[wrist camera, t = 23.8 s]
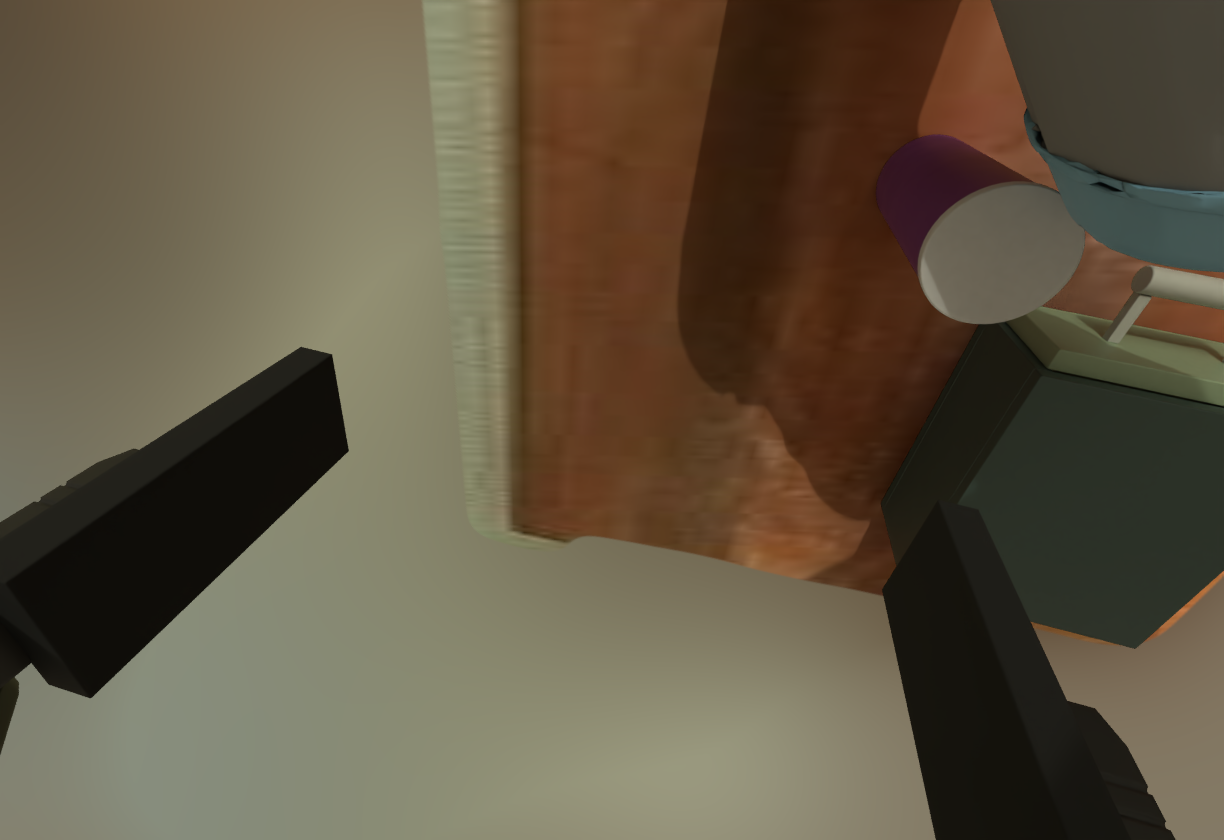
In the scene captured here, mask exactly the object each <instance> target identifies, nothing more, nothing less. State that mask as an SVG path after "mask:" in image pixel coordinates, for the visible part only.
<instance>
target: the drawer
mask: <svg viewBox="0 0 1224 840" xmlns="http://www.w3.org/2000/svg"><path fill="white" fill-rule="evenodd" d="M1131 288H1132V290H1133V291H1134V292H1133V294H1132V295H1131V296H1130V298H1129V299H1128V301H1127V302H1126V304H1125V305H1124V307H1123V308H1122V309H1121V311H1120V312H1119V314H1118V315H1117V317H1116V318H1115V319H1114V321H1111V320H1106V319H1101V318H1096V317H1091V316H1086V315H1081V314H1077V313H1072V312H1067V311H1062V310H1057V309H1052V308H1047V307H1042V306H1040V307H1038V308H1037V309H1035V310H1034V311H1031V312H1029V313H1027V314H1025V315H1023V316H1020V317H1018V318H1015V319H1012V320H1008V321H1005V322H1006V323H1007V324H1008V325H1009V326H1010V327H1011V328H1012V330H1013V331H1014V332H1015V333H1016V334H1017V335H1018V336H1019V338H1020V339H1021V340H1022V341H1023V342H1024V343H1025V344H1026V345H1027V347H1028V348H1029V349H1030V350H1031V351H1032V352H1033V353H1034V355H1035V356H1036V357H1037V358H1038V359H1039V360H1040V361H1041V363H1042V364H1043V365H1044V366H1045V367H1046V368H1047V369H1050V370H1052V372H1056V373H1061V374H1066V375H1070V376H1075V377H1080V378H1084V379H1089V380H1094V381H1098V382H1103V383H1108V384H1113V385H1117V386H1122V387H1127V388H1131V389H1136V390H1141V391H1145V392H1150V393H1155V394H1160V395H1164V396H1169V397H1174V398H1178V399H1183V400H1188V401H1192V402H1197V403H1202V404H1206V405H1211V406H1216V407H1221V408H1224V343H1221V342H1216V341H1211V340H1206V339H1201V338H1196V337H1191V336H1186V335H1181V334H1176V333H1171V332H1166V331H1161V330H1156V329H1151V328H1146V327H1141V326H1136V325H1132V324H1133V323H1134V322H1135V320H1136V319H1137V317H1138V316H1139V315H1140V313H1141V312H1142V310H1143V309H1144V308H1145V306H1146V305H1147V304H1148V302H1149V301H1150V299H1151V298H1152V297H1151V296H1155V297H1160V298H1165V299H1170V300H1175V301H1180V302H1185V303H1191V304H1196V305H1201V306H1206V307H1211V308H1216V309H1221V310H1224V279H1220V278H1215V277H1209V276H1204V275H1199V274H1193V273H1188V272H1183V271H1178V270H1172V269H1167V268H1162V267H1157V266H1151V265H1149V266H1145V267H1143V268H1141V269H1140V270H1139V271H1138V272H1137V273H1136V275H1135V276H1134V278H1133V280H1132V284H1131ZM1149 295H1150V296H1149Z"/></svg>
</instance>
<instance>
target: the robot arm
mask: <svg viewBox="0 0 1224 840" xmlns="http://www.w3.org/2000/svg"><path fill="white" fill-rule="evenodd" d="M991 3H992V5H993V8H994V11H995V14H996V17H997V20H998V23H999V26H1000V29H1001V32H1002V35H1003V38H1004V41H1005V43H1006V46H1007V49H1008V52H1009V55H1010V58H1011V61H1012V64H1013V67H1014V70H1015V73H1016V76H1017V79H1018V82H1019V84H1020V87H1021V90H1022V93H1023V96H1024V99H1025V102H1026V105H1027V109H1026V112H1025V114H1024V123H1025V127H1026V131H1027V135H1028V137H1029V140H1030V143H1031V144H1032V146H1033V147H1034V149H1035V150H1036V151H1037V152H1039V154H1040V155H1041V156H1042V158H1043V159H1044V160H1045V162H1046V163H1048V165H1049V168H1050V170H1051V173H1052V175H1053V178H1054V180H1055V183H1056V185H1057V187H1058V190H1059V192H1060V195H1061V197H1062V200H1063V202H1064V204H1065V206H1066V209H1067V211H1068V212H1069V214H1070V216H1071V217H1072V218H1073V220H1074V221H1075V222H1076V223H1077V224H1078V225H1079V226H1081V227H1083V228H1084V229H1085V230H1086V231H1087V232H1088V233H1089V234H1090V235H1091V236H1092V237H1093V238H1095V239H1096V240H1097V241H1098V242H1100V243H1102V244H1104V245H1106V246H1107V247H1108V248H1110V249H1112V250H1115V251H1118V252H1120V253H1123V254H1126V255H1129V256H1131V257H1134V258H1137V259H1140V260H1143V261H1147V262H1151V263H1155V264H1160V265H1165V266H1171V267H1177V268H1183V269H1191V270H1200V271H1213V272H1224V0H991ZM348 451H349V449H348V444H347V438H346V433H345V427H344V421H343V415H342V410H341V403H340V398H339V392H338V386H337V380H336V374H335V369H334V363H333V358H332V354H328V353H324V352H320V351H316V350H312V349H308V348H303V347H300V348H299V349H297V350H295V351H294V352H292V353H291V354H289V355H288V356H286V357H284V358H283V359H281V360H280V361H278V362H277V363H275V364H273V365H272V366H270V367H269V368H267V369H266V370H264V371H263V372H261V373H260V374H258V375H256V376H255V377H253V378H251V379H250V380H248V381H247V382H245V383H244V384H242V385H240V386H239V387H237V388H236V389H234V390H233V391H231V392H230V393H228V394H227V395H225V396H223V397H222V398H220V399H219V400H217V401H216V402H214V403H212V404H211V405H209V406H208V407H206V408H205V409H203V410H202V411H200V412H198V413H197V414H195V415H193V416H192V417H191V418H189V419H187V420H186V421H184V422H182V423H181V424H180V425H178V426H176V427H175V428H173V429H171V430H170V431H168V432H167V433H165V434H164V435H162V436H160V437H159V438H157V439H156V440H154V441H153V442H151V443H150V444H148V445H146V446H145V447H144V448H142V449H140V450H137V449H132V450H129V451H126V452H124V453H121V454H119V455H116V456H113V457H111V458H108V459H105V460H103V461H100V462H98V463H96V464H94V465H93V466H91V467H89V468H88V469H86V470H85V471H83V472H81V473H80V474H78V475H76V476H75V477H73V478H72V479H70V480H68V481H67V483H66V485H65V486H59V487H57V488H55V489H54V490H52V491H50V492H49V493H47V494H46V495H44V496H42V497H41V500H40V501H39V502H33V503H31V504H29V505H28V506H26V507H24V508H23V509H21V510H20V511H18V512H16V513H15V514H13V515H11V516H10V517H8V518H7V519H5V520H3V521H2V522H0V754H1V750H2V747H3V744H4V741H5V738H6V734H7V731H8V728H9V724H10V721H11V718H12V715H13V711H14V708H15V705H16V702H17V698H18V695H19V682H18V681H17V680H16V679H15V676H16V675H17V674H18V673H20V672H21V671H22V670H23V669H24V668H25V667H27V666H28V665H29V664H30V663H32V664H33V665H34V667H35V668H36V669H37V670H38V672H39V673H40V674H41V675H42V677H43V678H44V679H45V680H46V682H47V683H48V684H49V685H52V686H55V687H58V688H61V689H64V690H67V691H70V692H73V693H76V694H79V695H82V696H85V697H88V698H92V697H93V696H94V695H95V694H96V693H97V692H98V691H99V690H100V689H101V688H102V687H103V686H104V685H105V684H106V683H107V682H108V681H109V680H111V679H112V678H113V677H114V676H115V674H117V673H118V672H119V671H120V670H121V669H122V668H123V667H124V666H125V665H126V664H127V663H128V662H129V661H130V660H131V659H132V658H133V657H135V656H136V654H138V653H139V652H140V651H141V650H142V649H143V648H144V647H145V646H146V645H147V644H148V643H149V642H150V641H151V640H152V639H153V638H154V637H155V636H156V635H157V634H158V633H160V632H161V631H162V630H163V629H164V628H165V627H166V626H167V625H168V624H169V623H170V622H171V621H172V620H173V619H174V618H175V617H176V616H177V615H178V614H179V613H180V612H181V611H182V610H184V609H185V608H186V607H187V606H188V605H189V604H190V603H191V602H192V601H193V600H194V599H195V598H196V597H197V596H198V595H199V594H200V593H201V592H202V591H203V590H204V589H205V588H206V587H207V586H208V585H210V584H211V583H212V582H213V581H214V580H215V579H216V578H217V577H218V576H219V575H220V574H221V573H222V572H223V571H224V570H225V569H226V568H227V567H228V566H229V565H230V564H231V563H233V562H234V560H236V559H237V558H238V557H239V556H240V555H241V554H242V553H243V552H244V551H245V550H246V549H247V548H248V547H249V546H250V545H251V544H252V543H253V542H254V541H255V540H256V539H257V538H259V537H260V536H261V535H262V534H263V533H264V532H265V531H266V530H267V529H268V528H269V527H270V526H271V525H272V524H273V523H274V522H275V521H276V520H277V519H278V518H279V517H280V516H281V515H282V514H284V513H285V512H286V511H287V510H288V509H289V508H290V507H291V506H292V505H293V504H294V503H295V502H296V501H297V500H298V499H299V498H300V497H301V496H302V495H303V494H304V493H305V492H306V491H307V490H309V488H311V487H312V486H313V485H314V484H315V483H316V482H317V481H318V480H319V479H320V478H321V477H322V476H323V475H324V474H325V473H326V472H327V471H328V470H329V469H330V468H331V467H333V466H334V465H335V464H336V463H337V462H338V461H339V460H340V459H341V458H342V457H343V456H344V455H345V454H346V453H347V452H348ZM882 591H883V596H884V601H885V605H886V610H887V614H888V619H889V624H890V628H891V633H892V638H893V642H894V647H895V652H896V656H897V661H898V665H899V670H900V675H901V679H902V684H903V689H904V693H905V698H906V703H907V707H908V712H909V717H910V721H911V726H912V731H913V735H914V740H915V745H916V749H917V753H918V758H919V763H920V768H921V773H922V777H923V782H924V786H925V791H926V795H927V801H928V805H929V809H930V814H931V819H932V823H933V828H934V833H935V838H936V840H1175V838H1174V836H1173V834H1172V832H1171V831H1170V830H1168V829H1166V827H1165V822H1166V821H1165V819H1164V817H1163V815H1162V813H1161V811H1160V809H1159V807H1158V805H1157V803H1156V801H1155V799H1154V797H1153V796H1152V795H1150V794H1148V792H1147V788H1148V786H1147V784H1146V782H1145V780H1144V778H1143V776H1142V774H1141V772H1140V770H1139V768H1138V767H1137V765H1136V763H1135V761H1134V759H1133V757H1132V755H1131V753H1130V751H1129V749H1128V747H1127V746H1126V745H1125V743H1124V742H1123V741H1122V740H1121V739H1120V738H1119V736H1118V735H1117V734H1116V733H1115V732H1114V730H1113V729H1112V728H1111V727H1110V726H1109V725H1108V723H1107V722H1106V721H1105V720H1104V719H1103V717H1102V716H1101V715H1100V714H1099V713H1098V712H1097V710H1096V709H1095V708H1091V707H1088V706H1084V705H1080V704H1077V703H1073V702H1070V701H1067V700H1066V698H1065V695H1064V693H1063V691H1062V689H1061V687H1060V685H1059V682H1058V680H1057V678H1056V676H1055V674H1054V672H1053V670H1052V667H1051V665H1050V663H1049V661H1048V659H1047V657H1046V654H1045V652H1044V650H1043V648H1042V646H1041V644H1040V641H1039V639H1038V637H1037V635H1036V633H1035V631H1034V628H1033V626H1032V624H1031V622H1030V620H1029V618H1028V615H1027V613H1026V611H1025V609H1024V607H1023V605H1022V602H1021V600H1020V598H1019V596H1018V594H1017V592H1016V589H1015V587H1014V585H1013V583H1012V581H1011V579H1010V577H1009V574H1008V572H1007V570H1006V568H1005V566H1004V564H1003V561H1002V559H1001V557H1000V555H999V553H998V551H997V548H996V546H995V544H994V542H993V540H992V538H991V535H990V533H989V531H988V529H987V527H986V525H985V522H984V520H983V518H982V516H981V514H980V512H979V509H975V508H971V507H966V506H962V505H958V504H954V503H950V502H945V501H941V500H938V501H937V502H936V504H935V506H934V507H933V509H932V510H931V512H930V514H929V515H928V517H927V518H926V520H925V522H924V523H923V525H922V526H921V528H920V530H919V531H918V533H917V534H916V536H915V538H914V539H913V541H912V542H911V544H910V546H909V547H908V549H907V551H906V552H905V554H904V555H903V557H902V559H901V560H900V562H899V563H898V565H897V567H896V568H895V570H894V571H893V573H892V575H891V576H890V578H889V579H888V581H887V583H886V584H885V586H884V587H883V589H882Z"/></svg>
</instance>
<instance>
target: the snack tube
mask: <svg viewBox="0 0 1224 840" xmlns="http://www.w3.org/2000/svg"><path fill="white" fill-rule="evenodd" d="M876 200H877V204H878V207H879V209H880V211H881V213H882V215H883V217H884V218H885V220H886V222H887V224H888V225H889V227H890V229H891V231H892V232H893V234H894V236H895V238H896V239H897V241H898V243H899V245H900V246H901V248H902V250H903V252H904V253H905V255H906V257H907V258H908V260H909V262H910V264H911V265H912V267H913V269H914V271H915V272H916V274H917V276H918V278H919V282H920V285H921V288H922V290H923V292H924V294H925V295H926V297H927V299H928V300H929V302H930V303H931V304H932V305H933V306H934V307H935V308H936V309H937V310H938V311H939V312H941V313H942V314H944V315H946V316H947V317H950V318H952V319H954V320H957V321H961V322H965V323H971V324H994V323H999V322H1005V321H1008V320H1012V319H1015V318H1018V317H1020V316H1023V315H1025V314H1027V313H1029V312H1031V311H1034V310H1035V309H1037V308H1038V307H1040V306H1042V305H1043V304H1045V303H1046V302H1047V301H1049V300H1050V299H1051V298H1053V297H1054V296H1055V295H1056V294H1057V293H1058V292H1059V291H1060V290H1061V289H1062V288H1063V287H1064V286H1065V285H1066V284H1067V282H1068V281H1069V280H1070V278H1071V277H1072V275H1073V274H1074V272H1075V270H1076V269H1077V267H1078V265H1079V262H1080V260H1081V257H1082V254H1083V250H1084V246H1085V229H1084V228H1083V227H1081V226H1079V225H1078V224H1077V223H1076V222H1075V221H1074V220H1073V218H1072V217H1071V216H1070V214H1069V212H1068V211H1067V209H1066V206H1065V204H1064V202H1063V200H1062V197H1061V195H1060V193H1059V192H1058V191H1056V190H1054V189H1052V188H1050V187H1047V186H1045V185H1042V184H1038V183H1035V182H1033V181H1031V180H1029V179H1028V178H1026V177H1024V176H1022V175H1020V174H1019V173H1017V172H1015V171H1013V170H1012V169H1010V168H1008V167H1006V166H1004V165H1003V164H1001V163H999V162H997V161H996V160H994V159H992V158H990V157H989V156H987V155H985V154H983V153H981V152H980V151H978V150H976V149H974V148H973V147H971V146H969V145H967V144H965V143H964V142H962V141H960V140H958V139H956V138H954V137H951V136H947V135H929V136H924V137H921V138H918V139H915V140H913V141H911V142H909V143H907V144H906V145H904V146H903V147H901V148H900V149H899V150H898V151H896V152H895V153H894V154H893V155H892V156H891V158H890V159H889V160H888V161H887V163H886V164H885V166H884V167H883V169H882V171H881V173H880V175H879V178H878V182H877V187H876Z"/></svg>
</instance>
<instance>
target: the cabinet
mask: <svg viewBox="0 0 1224 840" xmlns="http://www.w3.org/2000/svg"><path fill="white" fill-rule="evenodd" d="M938 500H941V501H945V502H950V503H954V504H958V505H962V506H966V507H971V508H975V509H979V512H980V514H981V516H982V518H983V520H984V522H985V525H986V527H987V529H988V531H989V533H990V535H991V538H992V540H993V542H994V544H995V546H996V548H997V551H998V553H999V555H1000V557H1001V559H1002V561H1003V564H1004V566H1005V568H1006V570H1007V572H1008V574H1009V577H1010V579H1011V581H1012V583H1013V585H1014V587H1015V589H1016V592H1017V594H1018V596H1019V598H1020V600H1021V602H1022V605H1023V607H1024V609H1025V611H1026V613H1027V615H1028V618H1029V620H1030V622H1034V623H1038V624H1042V625H1046V626H1050V627H1053V628H1057V629H1061V630H1065V631H1069V632H1073V633H1076V634H1080V635H1084V636H1088V637H1092V638H1096V639H1100V640H1103V641H1107V642H1111V643H1115V644H1119V645H1123V646H1126V647H1130V648H1134V649H1135V648H1137V647H1138V646H1139V645H1140V644H1141V643H1143V642H1144V641H1145V640H1146V639H1147V638H1148V637H1149V636H1150V635H1152V634H1153V633H1154V632H1155V631H1156V630H1157V629H1158V628H1160V627H1161V626H1162V625H1163V624H1164V623H1165V622H1166V621H1167V620H1169V619H1170V618H1171V617H1172V616H1173V615H1174V614H1175V613H1176V612H1178V611H1179V610H1180V609H1181V608H1182V607H1183V606H1184V605H1185V604H1187V603H1188V602H1189V601H1190V600H1191V599H1192V598H1193V597H1195V596H1196V595H1197V594H1198V593H1199V592H1200V591H1201V590H1202V589H1204V588H1205V587H1206V586H1207V585H1208V584H1209V583H1210V582H1211V581H1213V580H1214V579H1215V578H1216V577H1217V576H1218V575H1219V574H1220V573H1222V572H1223V571H1224V408H1221V407H1216V406H1211V405H1206V404H1202V403H1197V402H1192V401H1188V400H1183V399H1178V398H1174V397H1169V396H1164V395H1160V394H1155V393H1150V392H1145V391H1141V390H1136V389H1131V388H1127V387H1122V386H1117V385H1113V384H1108V383H1103V382H1098V381H1094V380H1089V379H1084V378H1080V377H1075V376H1070V375H1066V374H1061V373H1056V372H1052V370H1050V369H1047V368H1046V367H1045V366H1044V365H1043V364H1042V363H1041V361H1040V360H1039V359H1038V358H1037V357H1036V356H1035V355H1034V353H1033V352H1032V351H1031V350H1030V349H1029V348H1028V347H1027V345H1026V344H1025V343H1024V342H1023V341H1022V340H1021V339H1020V338H1019V336H1018V335H1017V334H1016V333H1015V332H1014V331H1013V330H1012V328H1011V327H1010V326H1009V325H1008V324H1007V323H1006V322H999V323H994V324H979V326H978V328H977V329H976V331H975V333H974V335H973V337H972V338H971V340H970V342H969V344H968V346H967V348H966V349H965V351H964V353H963V355H962V357H961V358H960V360H959V362H958V364H957V366H956V368H955V369H954V371H953V373H952V375H951V377H950V378H949V380H948V382H947V384H946V386H945V388H944V389H943V391H942V393H941V395H940V397H939V398H938V400H937V402H936V404H935V406H934V407H933V409H932V411H931V413H930V415H929V417H928V418H927V420H926V422H925V424H924V426H923V427H922V429H921V431H920V433H919V435H918V437H917V438H916V440H915V442H914V444H913V446H912V447H911V449H910V451H909V453H908V455H907V457H906V458H905V460H904V462H903V464H902V466H901V467H900V469H899V471H898V473H897V475H896V476H895V478H894V480H893V482H892V484H891V486H890V487H889V489H888V491H887V493H886V495H885V496H884V498H883V500H882V502H881V507H882V510H883V515H884V519H885V523H886V526H887V530H888V534H889V538H890V542H891V546H892V550H893V554H894V558H895V562H896V566H897V565H898V563H899V562H900V560H901V559H902V557H903V555H904V554H905V552H906V551H907V549H908V547H909V546H910V544H911V542H912V541H913V539H914V538H915V536H916V534H917V533H918V531H919V530H920V528H921V526H922V525H923V523H924V522H925V520H926V518H927V517H928V515H929V514H930V512H931V510H932V509H933V507H934V506H935V504H936V502H937V501H938Z"/></svg>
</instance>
